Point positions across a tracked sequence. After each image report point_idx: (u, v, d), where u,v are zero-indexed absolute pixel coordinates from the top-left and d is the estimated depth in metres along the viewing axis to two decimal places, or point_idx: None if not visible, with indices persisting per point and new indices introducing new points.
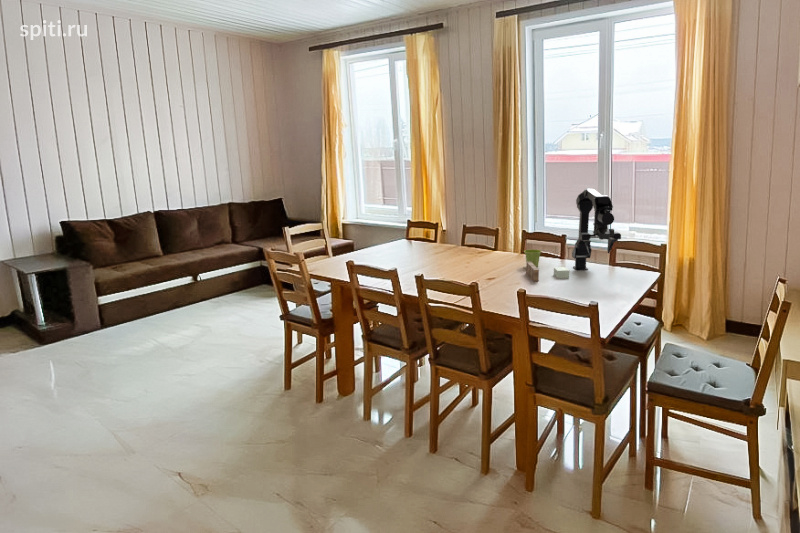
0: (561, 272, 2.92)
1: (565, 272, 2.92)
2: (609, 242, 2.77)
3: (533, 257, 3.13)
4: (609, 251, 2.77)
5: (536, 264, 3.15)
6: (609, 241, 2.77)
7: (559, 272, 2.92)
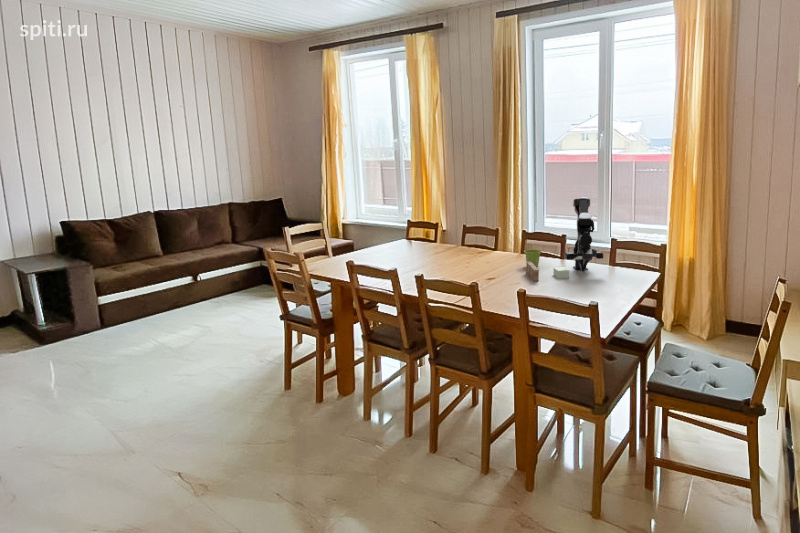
0: (561, 272, 2.92)
1: (565, 272, 2.92)
2: (584, 261, 2.94)
3: (533, 257, 3.13)
4: None
5: (536, 264, 3.15)
6: (584, 260, 2.94)
7: (559, 272, 2.92)
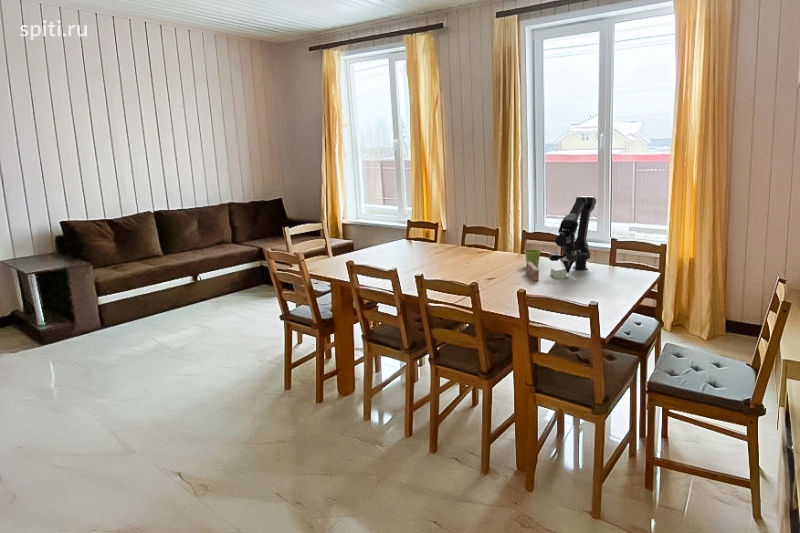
0: (558, 272, 2.92)
1: (562, 272, 2.92)
2: (568, 262, 2.94)
3: (533, 257, 3.13)
4: (568, 271, 2.94)
5: (536, 264, 3.15)
6: (568, 262, 2.94)
7: (557, 272, 2.92)
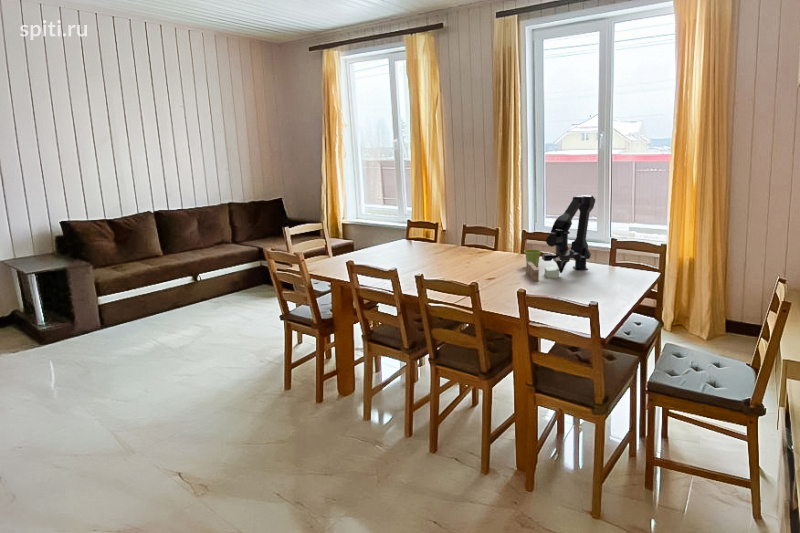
0: (551, 272, 2.93)
1: (555, 272, 2.93)
2: (562, 263, 2.94)
3: (533, 257, 3.13)
4: (562, 271, 2.94)
5: (536, 264, 3.15)
6: (562, 262, 2.94)
7: (549, 272, 2.93)
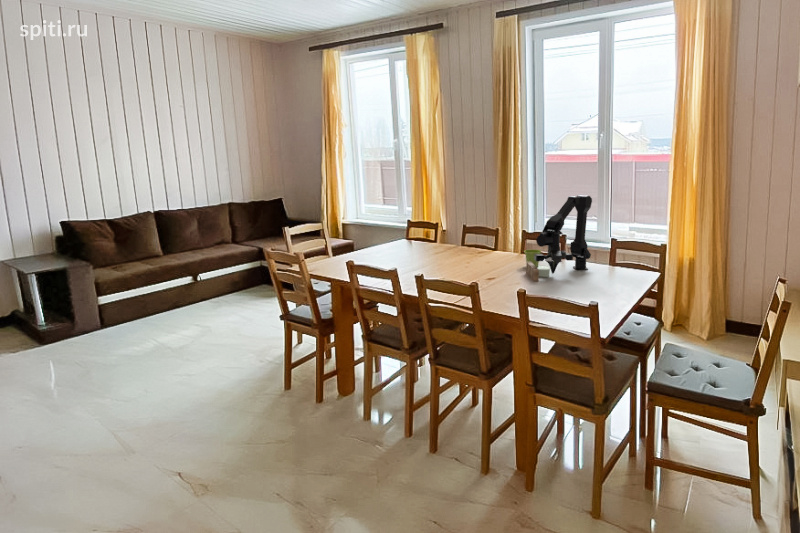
0: (541, 271, 2.96)
1: (545, 271, 2.95)
2: (554, 263, 2.94)
3: (533, 257, 3.13)
4: (554, 271, 2.94)
5: (536, 264, 3.15)
6: (554, 262, 2.94)
7: (539, 271, 2.96)
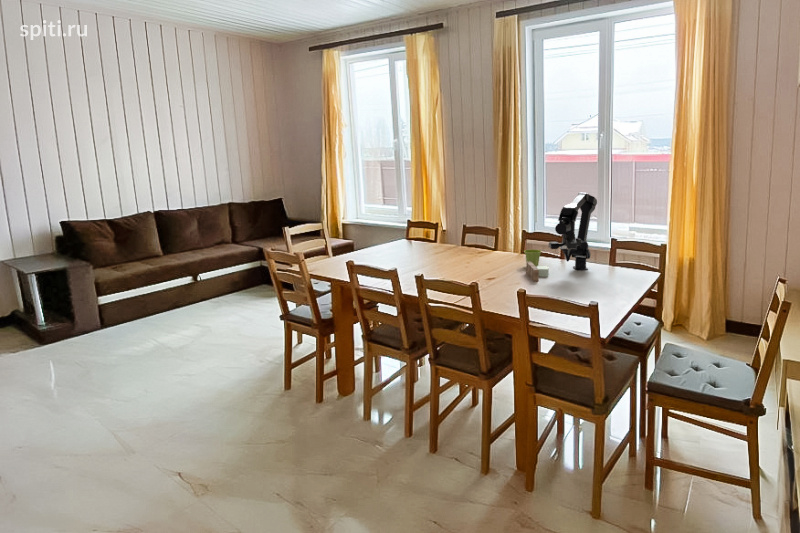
0: (540, 270, 2.96)
1: (544, 271, 2.96)
2: (568, 251, 2.93)
3: (533, 257, 3.13)
4: (568, 259, 2.93)
5: (536, 264, 3.15)
6: (568, 250, 2.93)
7: None
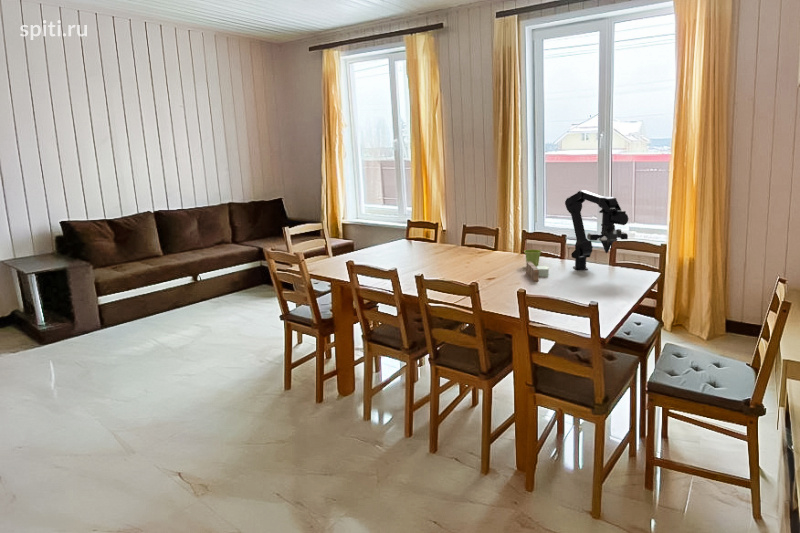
0: (540, 270, 2.96)
1: (544, 271, 2.96)
2: (607, 242, 2.89)
3: (533, 257, 3.13)
4: (607, 251, 2.90)
5: (536, 264, 3.15)
6: (607, 241, 2.90)
7: None
